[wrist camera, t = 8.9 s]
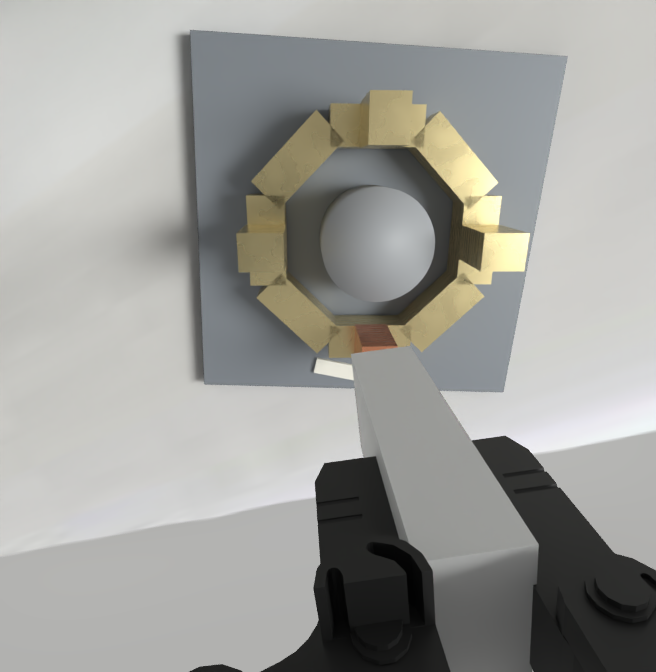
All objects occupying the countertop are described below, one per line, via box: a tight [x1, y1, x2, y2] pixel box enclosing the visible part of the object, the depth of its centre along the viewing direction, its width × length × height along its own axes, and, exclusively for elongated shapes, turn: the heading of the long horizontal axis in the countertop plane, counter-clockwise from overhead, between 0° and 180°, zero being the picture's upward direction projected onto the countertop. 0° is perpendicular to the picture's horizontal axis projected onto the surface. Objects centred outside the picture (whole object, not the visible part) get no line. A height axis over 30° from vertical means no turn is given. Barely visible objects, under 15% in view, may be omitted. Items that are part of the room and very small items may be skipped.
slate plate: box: [190, 30, 568, 392], centre depth 32 cm, size 24×24×6 cm
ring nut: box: [236, 90, 530, 358], centre depth 30 cm, size 17×17×7 cm
